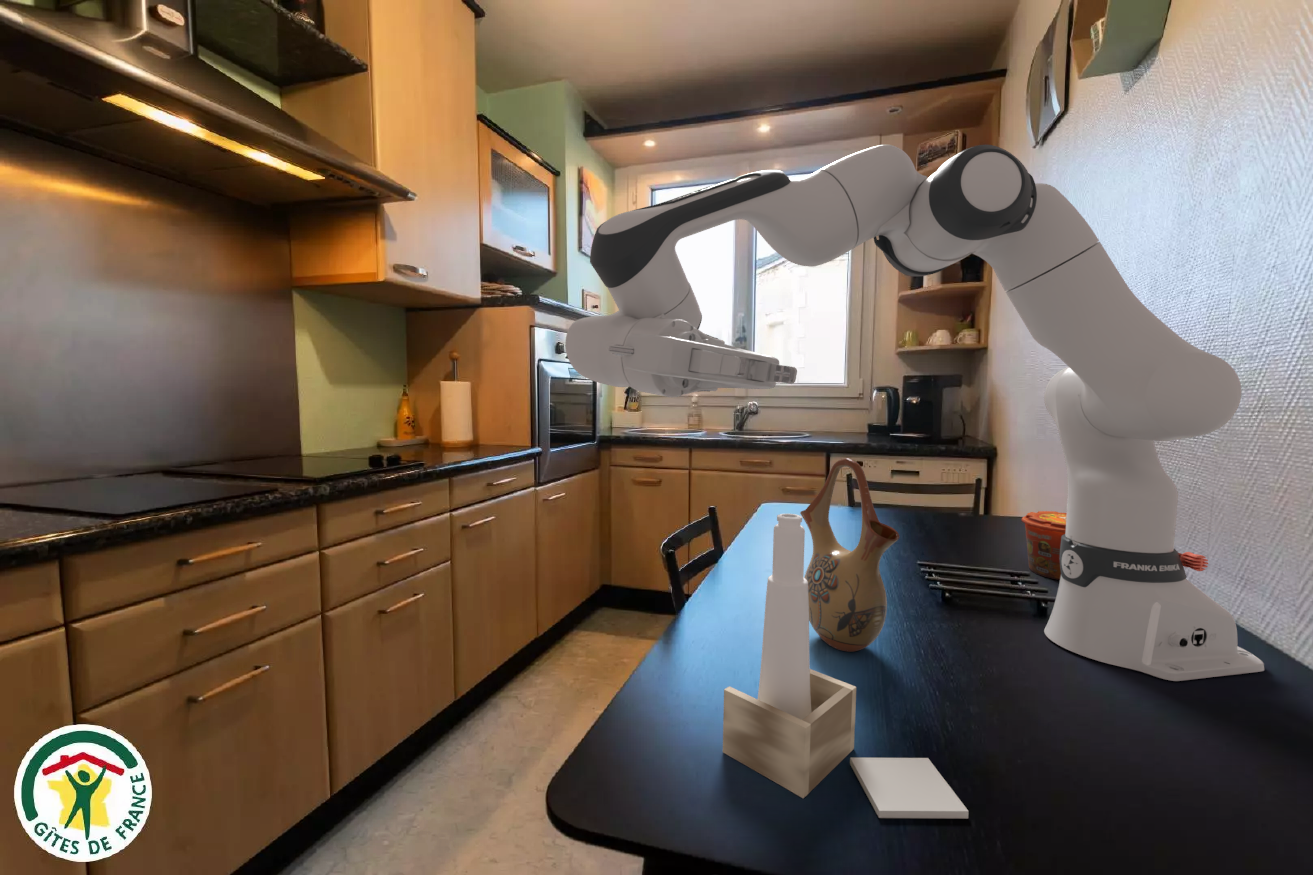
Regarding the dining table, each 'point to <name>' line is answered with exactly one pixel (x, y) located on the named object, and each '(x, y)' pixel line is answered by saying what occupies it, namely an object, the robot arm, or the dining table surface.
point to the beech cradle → (792, 734)
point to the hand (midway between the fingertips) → (768, 371)
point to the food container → (1045, 542)
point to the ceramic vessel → (846, 571)
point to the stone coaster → (907, 788)
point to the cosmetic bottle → (786, 624)
